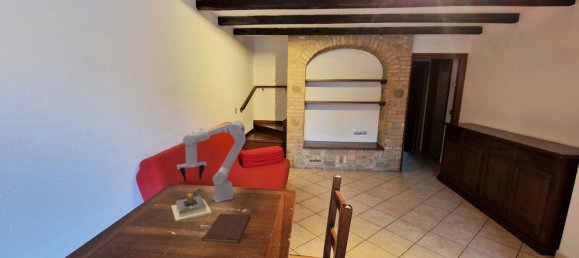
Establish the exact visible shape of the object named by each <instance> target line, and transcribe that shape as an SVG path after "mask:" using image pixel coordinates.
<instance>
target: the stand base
mask: <svg viewBox="0 0 579 258" xmlns="http://www.w3.org/2000/svg"><path fill="white" fill-rule="evenodd" d="M202 199H203V201H204V203H205V204H206V211H203V212H199V213H195V214H191V215H187V216H182V217H180V216H179V213H178V211H177V208H176V204H173V205H171V210H172V214H173V215H172V216H173V218H174V221H175V223H178V222H182V221H186V220H189V219H190V220H191V219H195V218H199V217H202V216H206V215H211V214H212V210H211V208H210V207H209V206H208V205H209V204H207V201H205V199H204V198H202Z"/></svg>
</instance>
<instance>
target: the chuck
mask: <svg viewBox="0 0 579 258" xmlns="http://www.w3.org/2000/svg"><path fill="white" fill-rule="evenodd" d="M203 199H204V198H203V197H202V196H201V195H197V197H195V196H194V204H191V205H187V198H182V199H180V200H178V199H177V200H178V201H176V200H175V201H176V202H175V205H176V208H177V211H178V213H179V216H180V217H182V216H187V215H191V214H195V213H199V212H203V211H206V204H205V203H204V201H203Z"/></svg>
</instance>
